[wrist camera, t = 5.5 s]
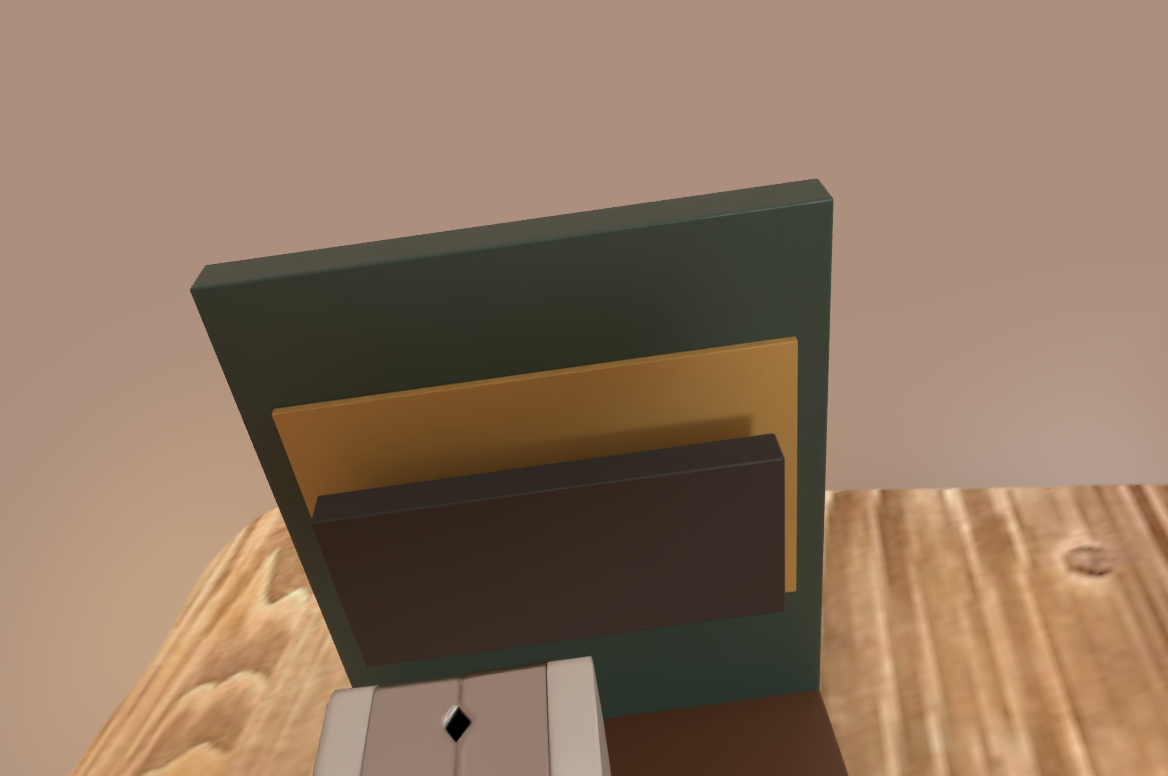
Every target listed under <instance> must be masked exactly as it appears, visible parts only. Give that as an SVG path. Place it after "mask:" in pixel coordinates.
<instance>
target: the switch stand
mask: <svg viewBox="0 0 1168 776" xmlns="http://www.w3.org/2000/svg"><path fill="white" fill-rule="evenodd" d="M832 227H833V198H832V196H831V195H830V194H829V192H828V191H827V190H826V189H825V187H824V186H823V185H822V183H821V182H820V181H819V179H810V180H803V181H796V182H790V183H783V184H775V185H768V186H761V187H754V188H747V189H740V190H733V191H726V192H719V193H712V194H705V195H698V196H691V197H684V198H677V199H670V200H662V201H656V202H648V203H641V204H635V205H627V206H621V207H613V208H606V209H599V210H592V211H586V212H578V213H571V214H564V215H557V216H550V217H543V218H536V219H529V220H522V221H515V222H508V223H501V224H494V225H487V226H479V227H472V228H465V229H458V230H451V231H444V232H437V233H431V234H423V235H416V236H409V237H402V238H395V239H388V240H381V241H374V242H367V243H360V244H354V245H346V246H339V247H332V248H325V249H318V250H311V251H304V252H297V253H290V254H282V255H275V256H268V257H261V258H254V259H248V260H241V261H234V262H226V263H219V264H212V265H206V266H205V267H204V268H203V270H202V271H201V273H200V274H199V276H198V278H197V279H196V281H195V283H194V284H193V285H192V287H191V289H190V292H191V294H192V296H193V299H194V301H195V304H196V306H197V309H198V311H199V314H200V316H201V319H202V321H203V323H204V326H205V328H206V331H207V333H208V336H209V338H210V341H211V343H212V345H213V348H214V350H215V352H216V355H217V358H218V360H219V363H220V365H221V367H222V370H223V372H224V375H225V377H226V380H227V382H228V384H229V387H230V389H231V392H232V394H233V397H234V399H235V402H236V404H237V407H238V409H239V411H240V414H241V416H242V418H243V421H244V424H245V426H246V429H247V431H248V434H249V436H250V438H251V441H252V443H253V446H254V448H255V450H256V453H257V456H258V458H259V460H260V463H261V465H262V468H263V470H264V473H265V475H266V478H267V480H268V482H269V485H270V487H271V490H272V492H273V495H274V497H275V499H276V502H277V504H278V507H279V509H280V512H281V514H282V517H283V519H284V522H285V524H286V526H287V529H288V531H289V534H290V536H291V539H292V541H293V544H294V546H295V549H296V551H297V553H298V556H299V558H300V561H301V563H302V566H303V568H304V571H305V573H306V575H307V578H308V580H309V583H310V585H311V588H312V590H313V593H314V595H315V597H316V600H317V602H318V605H319V607H320V610H321V612H322V615H323V617H324V619H325V622H326V624H327V627H328V629H329V632H330V634H331V637H332V639H333V641H334V644H335V646H336V649H337V651H338V654H339V656H340V659H341V661H342V664H343V666H344V668H345V671H346V673H347V676H348V678H349V681H350V683H351V686H352V688H358V687H366V686H374V685H381V684H390V683H399V682H408V681H418V680H427V679H436V678H445V677H454V676H463V674H465V673H472V672H479V671H485V670H492V669H499V668H505V667H512V666H518V665H525V664H532V663H538V662H545V661H547V662H551V661H559V660H566V659H573V658H581V657H588V656H591V657H592V660H593V664H594V670H595V676H596V681H597V687H598V693H599V698H600V704H601V710H602V716H603V722H604V729H605V735H606V742H607V749H608V755H609V762H610V771H611V776H848V773H847V770H846V767H845V764H844V761H843V758H842V755H841V752H840V749H839V746H838V743H837V740H836V737H835V734H834V731H833V728H832V725H831V723H830V720H829V717H828V714H827V711H826V708H825V705H824V702H823V699H822V696H821V693H820V690H819V683H820V648H821V614H822V579H823V544H824V509H825V473H826V438H827V405H828V369H829V335H830V298H831V264H832V263H831V262H832V231H833V230H832V229H833V228H832ZM771 433H774V434H775V435H776V438H777V440H778V443H779V445H780V448H781V450H782V453H783V455H784V458H785V611H782V612H774V613H767V614H759V615H752V616H744V617H737V618H730V619H722V620H715V621H707V622H700V623H692V624H685V625H678V626H670V627H663V628H655V629H648V630H640V631H633V632H626V633H618V634H611V635H603V636H596V637H588V638H581V639H574V640H566V641H559V642H551V643H544V644H536V645H529V646H522V647H514V648H507V649H499V650H492V651H484V652H477V653H470V654H462V655H455V656H447V657H440V658H432V659H425V660H418V661H410V662H403V663H395V664H388V665H380V666H373V667H366V666H365V663H364V660H363V658H362V655H361V653H360V650H359V648H358V645H357V642H356V640H355V637H354V635H353V632H352V630H351V627H350V624H349V622H348V619H347V617H346V614H345V611H344V609H343V606H342V604H341V601H340V599H339V596H338V593H337V591H336V588H335V586H334V583H333V581H332V578H331V575H330V573H329V570H328V568H327V565H326V563H325V560H324V557H323V555H322V552H321V550H320V547H319V545H318V542H317V539H316V537H315V534H314V532H313V529H312V527H311V524H310V523H311V519H312V516H313V512H314V508H315V505H316V501H317V498H318V496H321V495H328V494H335V493H342V492H350V491H357V490H364V489H371V488H379V487H386V486H393V485H400V484H408V483H415V482H422V481H430V480H437V479H444V478H451V477H459V476H466V475H473V474H480V473H488V472H495V471H502V470H509V469H517V468H524V467H531V466H538V465H546V464H553V463H560V462H567V461H575V460H582V459H589V458H596V457H604V456H611V455H618V454H626V453H633V452H640V451H647V450H655V449H662V448H669V447H676V446H684V445H691V444H698V443H705V442H713V441H720V440H727V439H734V438H742V437H749V436H756V435H763V434H771Z"/></svg>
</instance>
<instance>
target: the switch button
mask: <svg viewBox="0 0 1168 776" xmlns="http://www.w3.org/2000/svg"><path fill="white" fill-rule="evenodd" d="M310 524H311V527H312V529H313V532H314V534H315V537H316V539H317V542H318V545H319V547H320V550H321V552H322V555H323V557H324V560H325V563H326V565H327V568H328V570H329V573H330V575H331V578H332V581H333V583H334V586H335V588H336V591H337V593H338V596H339V599H340V601H341V604H342V606H343V609H344V611H345V614H346V617H347V619H348V622H349V624H350V627H351V630H352V632H353V635H354V637H355V640H356V642H357V645H358V648H359V650H360V653H361V655H362V658H363V660H364V663H365V666H366V667H373V666H380V665H388V664H395V663H403V662H410V661H418V660H425V659H432V658H440V657H447V656H455V655H462V654H470V653H477V652H484V651H492V650H499V649H507V648H514V647H522V646H529V645H536V644H544V643H551V642H559V641H566V640H574V639H581V638H588V637H596V636H603V635H611V634H618V633H626V632H633V631H640V630H648V629H655V628H663V627H670V626H678V625H685V624H692V623H700V622H707V621H715V620H722V619H730V618H737V617H744V616H752V615H759V614H767V613H774V612H782V611H785V458H784V455H783V453H782V450H781V448H780V445H779V443H778V440H777V438H776V435H775V434H774V433H771V434H763V435H756V436H749V437H742V438H734V439H727V440H720V441H713V442H705V443H698V444H691V445H684V446H676V447H669V448H662V449H655V450H647V451H640V452H633V453H626V454H618V455H611V456H604V457H596V458H589V459H582V460H575V461H567V462H560V463H553V464H546V465H538V466H531V467H524V468H517V469H509V470H502V471H495V472H488V473H480V474H473V475H466V476H459V477H451V478H444V479H437V480H430V481H422V482H415V483H408V484H400V485H393V486H386V487H379V488H371V489H364V490H357V491H350V492H342V493H335V494H328V495H321V496H318V498H317V501H316V505H315V508H314V512H313V516H312V519H311V523H310Z"/></svg>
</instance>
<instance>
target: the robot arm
mask: <svg viewBox="0 0 1168 776" xmlns="http://www.w3.org/2000/svg"><path fill="white" fill-rule="evenodd" d="M313 776H611V771H610V762H609V755H608V749H607V742H606V735H605V729H604V722H603V716H602V710H601V704H600V698H599V693H598V687H597V681H596V676H595V670H594V664H593V660H592V657H591V656H588V657H581V658H573V659H566V660H559V661H551V662H547V661H545V662H538V663H532V664H525V665H518V666H512V667H505V668H499V669H492V670H485V671H479V672H472V673H465V674H463V676H454V677H445V678H436V679H427V680H418V681H408V682H399V683H390V684H381V685H374V686H366V687H358V688H350V689H342V690H335V691H334V693H333V694H332V696H331V698H330V700H329V702H328V704H327V708H326V713H325V718H324V723H323V728H322V732H321V737H320V742H319V747H318V752H317V757H316V762H315V767H314V772H313Z"/></svg>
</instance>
